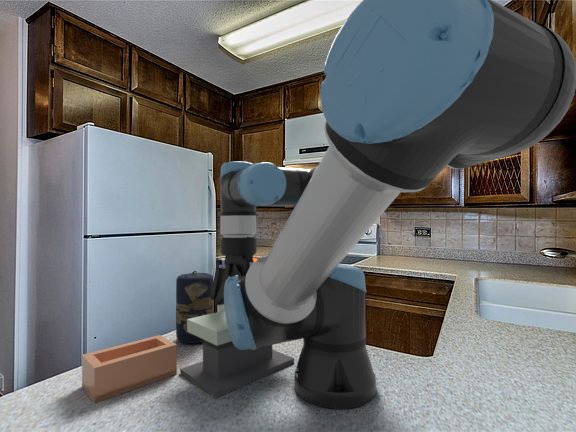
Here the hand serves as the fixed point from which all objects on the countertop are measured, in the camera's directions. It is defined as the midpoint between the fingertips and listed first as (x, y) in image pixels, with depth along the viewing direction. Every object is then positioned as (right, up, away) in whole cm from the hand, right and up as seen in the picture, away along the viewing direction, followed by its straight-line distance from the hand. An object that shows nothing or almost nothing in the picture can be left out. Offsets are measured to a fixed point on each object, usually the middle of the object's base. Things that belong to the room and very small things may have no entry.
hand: (239, 340), depth 70 cm
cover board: (0, +3, 0) cm, 3 cm away
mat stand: (0, -6, 0) cm, 6 cm away
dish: (-21, -6, -5) cm, 22 cm away
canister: (-14, -6, +17) cm, 23 cm away
